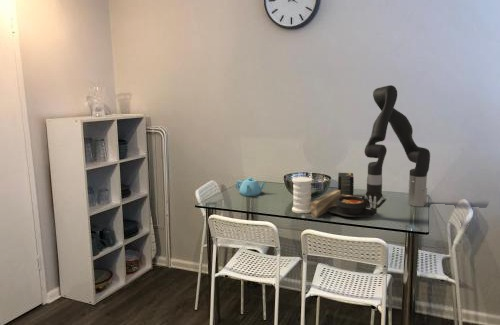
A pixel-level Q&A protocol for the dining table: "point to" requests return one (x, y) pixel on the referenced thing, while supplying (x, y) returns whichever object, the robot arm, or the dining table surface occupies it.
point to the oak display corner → (325, 203)
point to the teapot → (249, 187)
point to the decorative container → (302, 195)
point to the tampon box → (346, 183)
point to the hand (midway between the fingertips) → (373, 214)
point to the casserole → (350, 207)
